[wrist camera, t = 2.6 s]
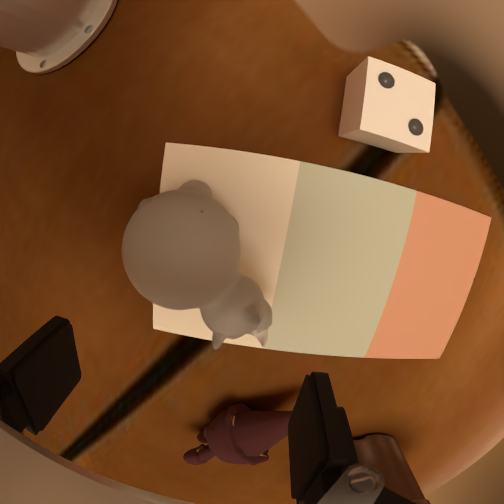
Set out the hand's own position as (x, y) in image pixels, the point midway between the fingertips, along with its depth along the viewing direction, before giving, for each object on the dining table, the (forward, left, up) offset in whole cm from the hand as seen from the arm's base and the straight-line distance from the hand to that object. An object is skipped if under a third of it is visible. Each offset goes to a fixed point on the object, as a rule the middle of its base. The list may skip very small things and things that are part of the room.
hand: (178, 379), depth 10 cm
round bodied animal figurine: (-1, 0, -14) cm, 14 cm away
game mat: (-1, +10, -14) cm, 17 cm away
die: (-14, +10, -14) cm, 21 cm away
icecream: (+17, +4, -14) cm, 22 cm away
